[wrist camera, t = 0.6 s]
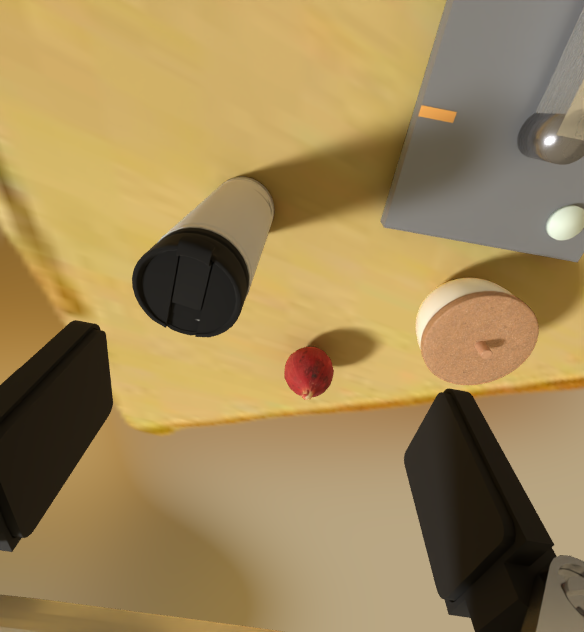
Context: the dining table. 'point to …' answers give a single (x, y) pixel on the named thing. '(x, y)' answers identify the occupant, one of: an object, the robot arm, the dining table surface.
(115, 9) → the dining table surface
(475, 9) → the base
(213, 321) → the travel mug
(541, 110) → the light grey rectangular bar
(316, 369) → the onion
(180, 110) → the dining table surface
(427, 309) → the lidded jar
